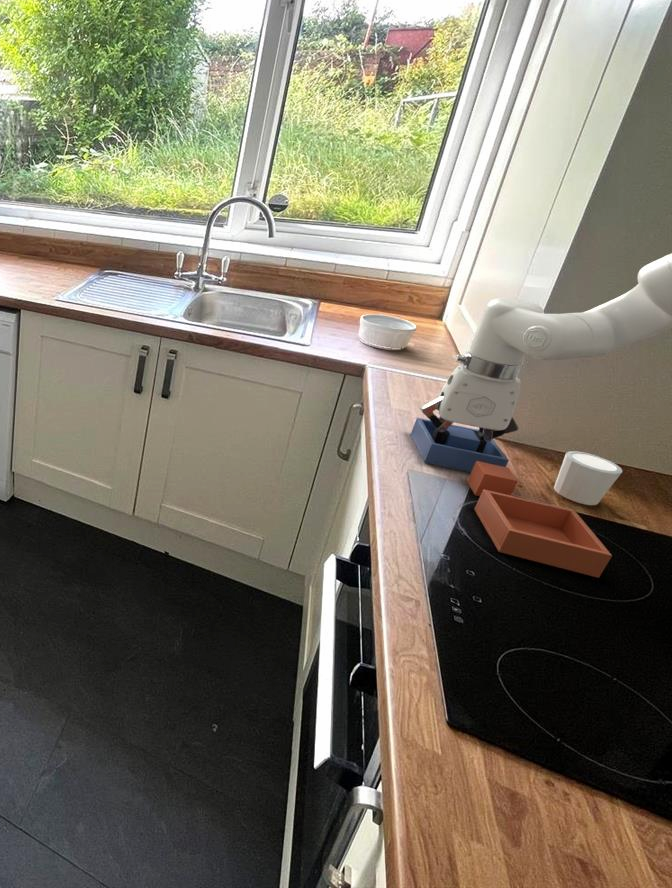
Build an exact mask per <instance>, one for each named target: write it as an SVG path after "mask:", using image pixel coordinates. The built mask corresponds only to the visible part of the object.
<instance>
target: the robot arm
mask: <svg viewBox="0 0 672 888" xmlns="http://www.w3.org/2000/svg"><path fill="white" fill-rule="evenodd" d="M637 283H638V284H636V285H635V286H634V287H633V288H631V289H630V290H628V291H627V292H625V293H623V294H622V295H620V296H617V297H616V298H613V299H611V300H609V301H607V302H604V303H602V304H600V305H598V306H595V307H593V308H591V309H588V310H586V311H581V312H565V313H545V311H544V309H543V308H542V307H541V306H540V305H538V304H536V303H534V302H530V301H527V300H522V299H516V298H509V297H497V298H493V299H491V300H490V301H489V302H488V303H487V305H486V306H485V309H484V311H483V314H482V316H481V318H480V321H479V323H478V325H477V328H476V331H475V333H474V336H473V339H472V340H471V343H470V345H469V348H468V350H466V351H465V353H464V354H456V355H455V357H454V362H456V363H460V364H458V365H457V366H456V367H455V368H454V370H453V371H452V373H451V374H450V376H449V377H448V378H447V380H446V382H445V383H444V385H443V387H442V389H441V391H440V393H439V394H438V397H437V398H435V399H433V400H431V401H429V402H427V403H426V404H424V405H422V406H421V407H419V408H420V409H419V410H420V411H421V413H422V414H423V415H424V416H425V417H426V418H428V420H431V422H432V423H433V424H434V426H435V427H436V428H435V430H434V433H433V435H432V439H433V440H434V442H435V443H436V444H441V445H444V443H445V440H446V438H447V436H448V434H447V432H446V431H447V429H448V428H449V427H450V426H451V425H453V424H455V423H456V424H459V425H465V426H470V427H474V428H475V427H476V428H478V430H479V433H478V434H476V433H475V435H476V436H477V437H478V439H479V440H480V443H479V445H478V448H477V450H476V452H479V453H482V452H483V450H484V448H485V446H486V444H487V442H490V441H492V439H493V440H494V439H496V438H498V437H502V436H504V435H505V434H509V433H513V432H514V433H515V432H518V430H519V426H518V424H517V422H516V421H515V419H514V417H513V416H514V413H515V410H516V406H517V403H518V399H519V396H520V390H521V384H522V383H521V382H522V381H521V379H520V378H518V377H517V376H518V375H519V372H520V369H521V367H522V365H523V363H524V361H525V359H526V357H527V356H529V357H531V358H534V359H537V360H541V361H563V360H572V359H582V358H594V357H599V356H603V355H607V354H609V353H613V352H615V351H618V350H621V349H624V348H626V347H630V346H631V345H634V344H637V343H639V342H642V341H644V340H648V339H649V338H651V337H655V336H656V335H658V334H661V333H663V332H665V331H667V330H669V329H671V328H672V252H671V253H669V254H666V255H664V256H663V257H660V258H658V259H655V260H653V261H651V262H650V263H648V264H645V265H644V266H642V267H641V268H640V269H639V271H638V273H637ZM436 410H437V411H438V414H439V416H437V414H435V413H434V411H436Z"/></svg>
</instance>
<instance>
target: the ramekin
mask: <svg viewBox="0 0 672 888" xmlns="http://www.w3.org/2000/svg"><path fill="white" fill-rule="evenodd" d="M359 322H360V323H359V328H358V339H359V341H360V342H361V343H363V344H364V345H366V346H369V347H372V348H376V349H380V350H385V351H401V350H404V349H405V348H406V347H407V346H408V345H409V343H410V341H411V339H412V337H413V335H414V333H416V331H417V325H416V324H415V323H414V322H411V321H409V320H407V319H403V318H400V317H396V316H393V315H387V314H386V315H385V314H377V313H375V314H374V313H368V314H362V315H361V317H360V318H359ZM359 337H360V338H361V339H362V340H364V341H367V342H370V343H373V344H376V345H380V346H385V347H391V348H384V347H379V346H375V345H372V344H369V343H366V342H364V341H362V340H361V339H360V338H359ZM404 347H405V348H404ZM392 348H402V349H392Z"/></svg>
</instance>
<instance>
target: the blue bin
mask: <svg viewBox="0 0 672 888" xmlns="http://www.w3.org/2000/svg"><path fill="white" fill-rule="evenodd" d="M451 426H452V427H457V428H462V429H467V430H472V431H473V432H474V433H476V434H478V433H479V429H478V428H477V429H476V428H472V427H466V426H462V425H457V424H451ZM435 428H436V427H435V426H434V424H433V423H432V422H431V420H430V419H425V418H421V417H416V419H415V422H414V424H413V427H412V430H411V431H410V434H409V435H410V437H411V439H412V441H413V443H414V445H415V447H416V449H417V451H418V453H419V455H420V458H422V461H423V463H426V464H430V465H434V466H439V467H445V468H449V469H452V470H457V471H462V472H466V473H470V474H471V472H472V469H473V467H474V465H475V463H476V461H479V462H484V463H488V464H493V465H498V466H502V467H507V466H508V463H509V461H510V460H509V458H508V457H507V456H506V454H505V453H504V452H503V450H502V449H501V447H499V445H498V444H497V443H496V441H495V440H494V439H492V441H490V442H487V444H486V446H485V448H484V450H483V452H482V453H479V452H474V451H470V450H465V449H460V448H455V447H451V446H446V445H441V444H436V443H435V442H434V440H433V439H432V435H433V433H434V430H435Z"/></svg>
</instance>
